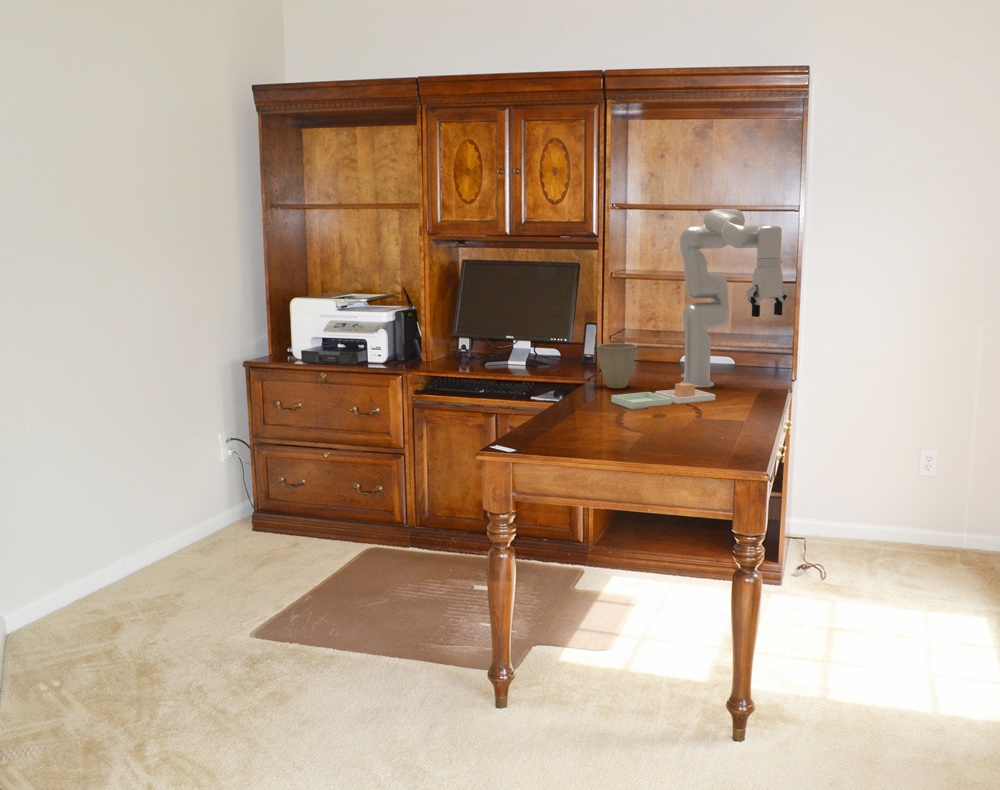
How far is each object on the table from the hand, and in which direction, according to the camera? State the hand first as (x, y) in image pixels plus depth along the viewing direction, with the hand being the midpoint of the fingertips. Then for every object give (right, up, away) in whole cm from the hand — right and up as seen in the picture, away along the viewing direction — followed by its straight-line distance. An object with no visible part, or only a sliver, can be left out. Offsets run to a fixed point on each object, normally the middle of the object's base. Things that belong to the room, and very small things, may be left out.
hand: (766, 315), depth 316 cm
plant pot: (-44, -23, +47) cm, 69 cm away
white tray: (-24, -28, +18) cm, 41 cm away
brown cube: (-24, -27, +18) cm, 40 cm away
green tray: (-40, -29, +12) cm, 51 cm away
